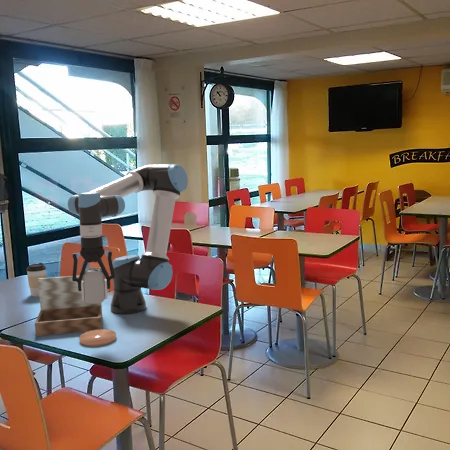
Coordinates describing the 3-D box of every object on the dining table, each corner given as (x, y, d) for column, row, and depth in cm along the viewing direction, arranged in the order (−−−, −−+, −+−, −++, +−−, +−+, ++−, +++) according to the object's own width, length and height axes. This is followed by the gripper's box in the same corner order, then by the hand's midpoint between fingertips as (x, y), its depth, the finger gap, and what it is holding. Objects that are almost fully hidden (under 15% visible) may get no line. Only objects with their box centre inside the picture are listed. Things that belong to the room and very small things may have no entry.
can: (110, 300, 183) (108, 268, 181) (94, 305, 177) (92, 272, 175) (95, 297, 187) (93, 265, 185) (80, 302, 181) (78, 270, 179)
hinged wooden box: (102, 316, 210) (99, 274, 208) (101, 329, 194) (98, 284, 191) (41, 321, 205) (38, 278, 203) (35, 336, 189) (31, 289, 186)
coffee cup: (36, 298, 238) (34, 267, 236) (24, 295, 243) (21, 265, 241) (52, 293, 246) (49, 263, 244) (40, 290, 251) (37, 261, 248)
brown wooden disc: (116, 331, 192) (115, 327, 192) (116, 344, 179) (116, 340, 179) (80, 334, 189) (80, 331, 189) (78, 347, 177) (78, 343, 176)
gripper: (60, 239, 173) (64, 303, 176) (120, 236, 177) (123, 299, 180) (62, 235, 180) (66, 297, 183) (120, 233, 184) (123, 293, 187)
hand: (95, 298), depth 182 cm, fingers closed on can, 7 cm apart
